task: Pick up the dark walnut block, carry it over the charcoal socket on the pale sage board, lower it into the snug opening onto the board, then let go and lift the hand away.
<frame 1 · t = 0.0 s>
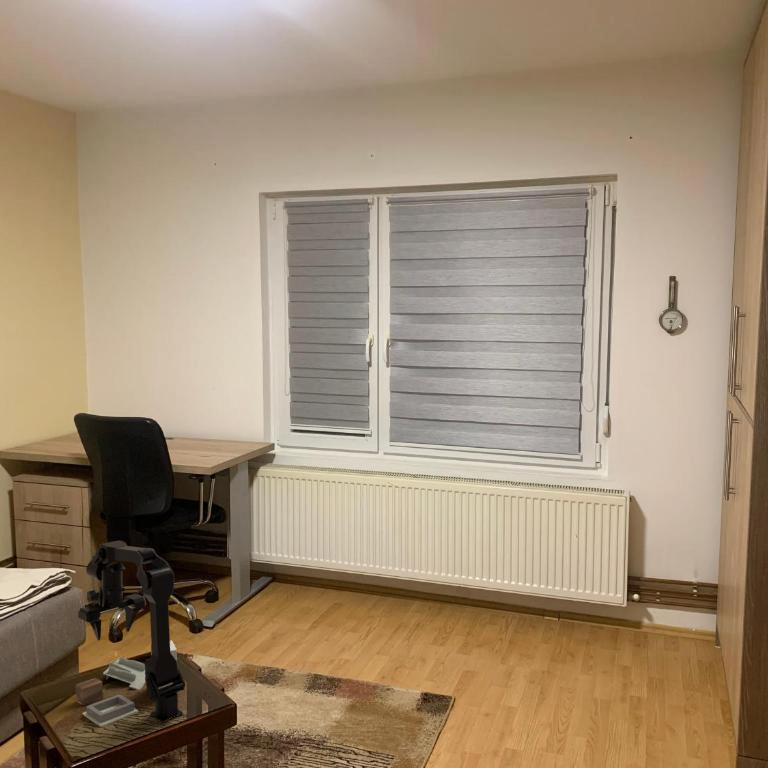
hand: (113, 635, 232), 15 cm above the table, tool pointing down, fingers open, 9 cm apart
socket board: (110, 713, 214), on the table
small box: (164, 690, 229), on the table
metal bracket: (128, 680, 237), on the table
walnut block: (89, 700, 222), on the table
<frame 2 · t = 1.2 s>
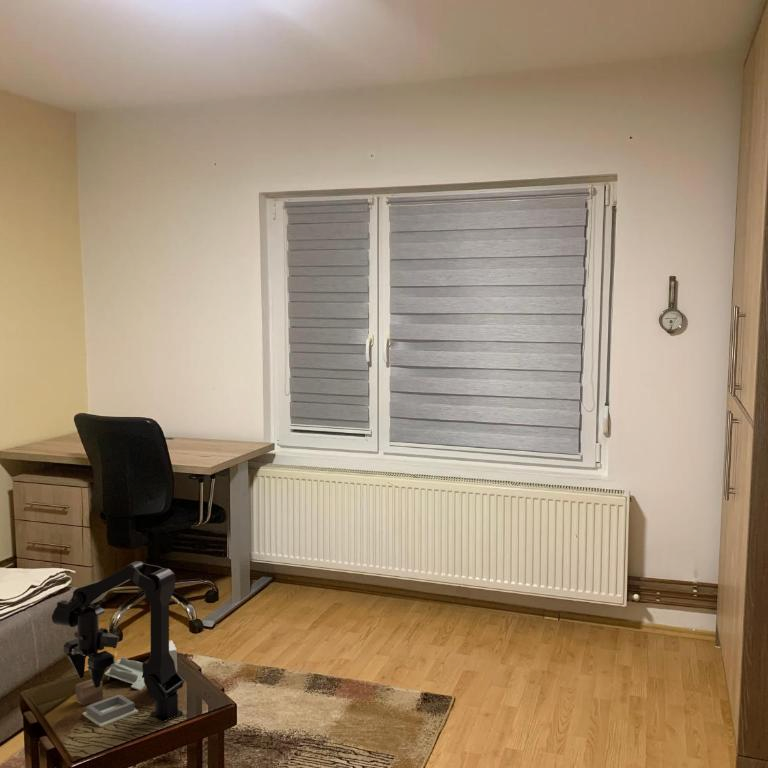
hand: (89, 682, 222), 5 cm above the table, tool pointing down, fingers open, 9 cm apart
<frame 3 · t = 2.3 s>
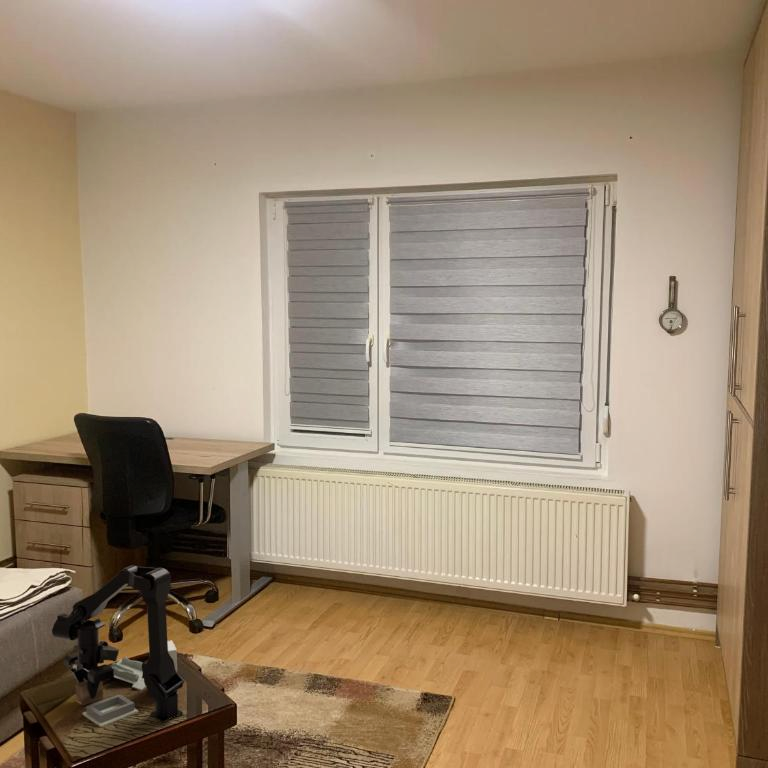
hand: (89, 695, 222), 1 cm above the table, tool pointing down, fingers closed on walnut block, 4 cm apart
walnut block: (89, 699, 222), on the table, touching gripper
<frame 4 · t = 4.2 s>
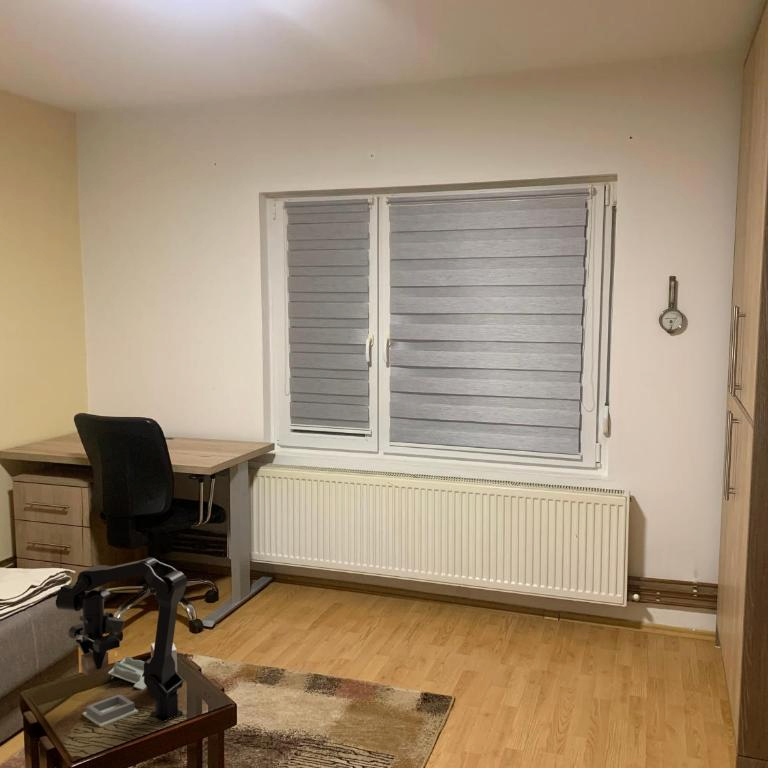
hand: (95, 666, 219), 11 cm above the table, tool pointing down, fingers closed on walnut block, 4 cm apart
walnut block: (95, 671, 219), point 9 cm above the table, touching gripper
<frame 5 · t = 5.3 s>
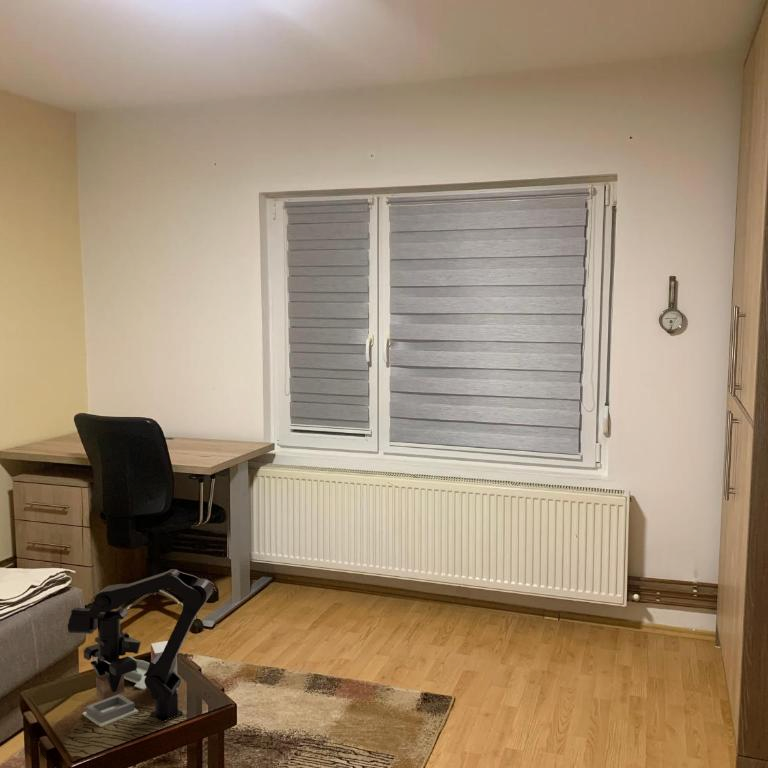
hand: (110, 689, 214), 7 cm above the table, tool pointing down, fingers closed on walnut block, 4 cm apart
walnut block: (110, 693, 214), point 6 cm above the table, touching gripper
when the fingers open (3 cm above the table, at t = 6.2 s): walnut block drops 2 cm, resting on socket board.
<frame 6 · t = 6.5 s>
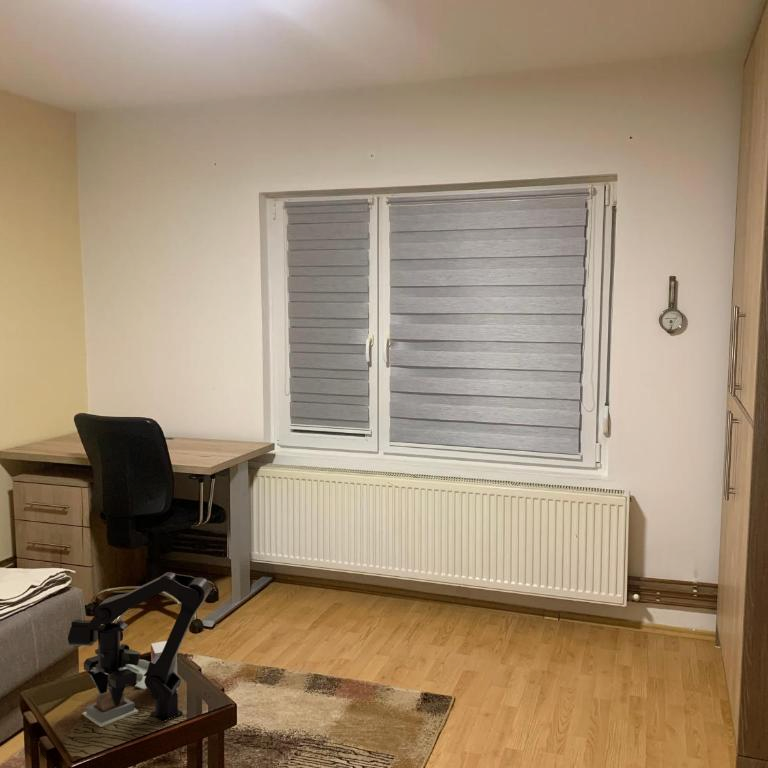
hand: (110, 701, 214), 3 cm above the table, tool pointing down, fingers open, 7 cm apart
walnut block: (110, 711, 214), resting on socket board
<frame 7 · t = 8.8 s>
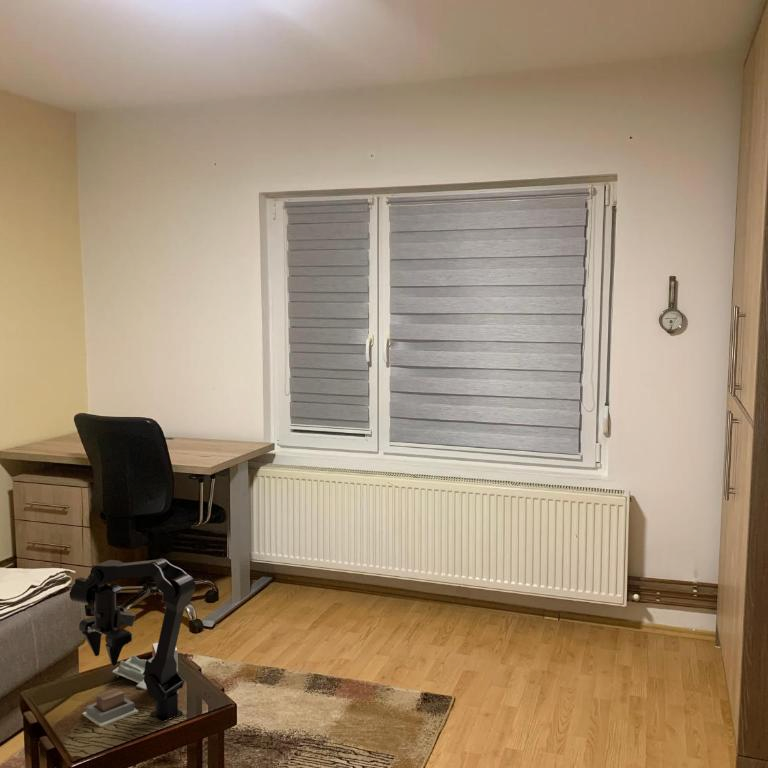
hand: (105, 660, 220), 12 cm above the table, tool pointing down, fingers open, 9 cm apart
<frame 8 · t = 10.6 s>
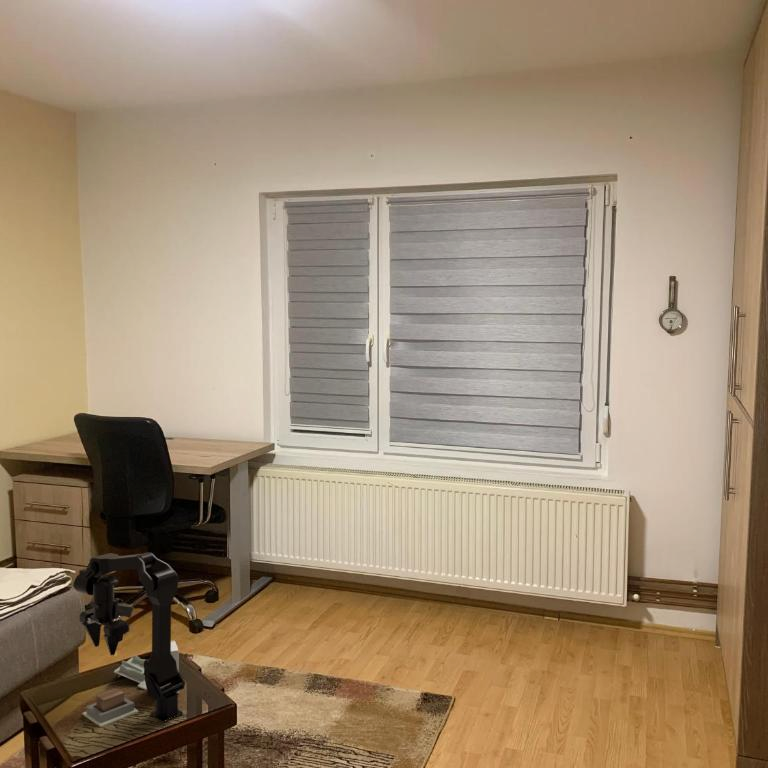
hand: (104, 650, 227), 12 cm above the table, tool pointing down, fingers open, 9 cm apart
at the end: walnut block 0.1 cm off-centre on the socket board, point 0.5 cm above the socket board's base; walnut block tilted 0°; the gripper is holding nothing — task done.
